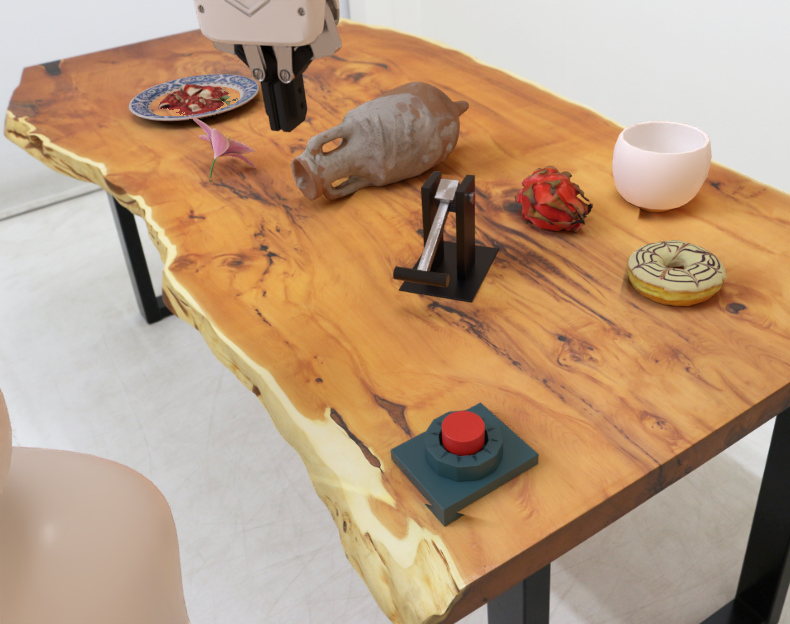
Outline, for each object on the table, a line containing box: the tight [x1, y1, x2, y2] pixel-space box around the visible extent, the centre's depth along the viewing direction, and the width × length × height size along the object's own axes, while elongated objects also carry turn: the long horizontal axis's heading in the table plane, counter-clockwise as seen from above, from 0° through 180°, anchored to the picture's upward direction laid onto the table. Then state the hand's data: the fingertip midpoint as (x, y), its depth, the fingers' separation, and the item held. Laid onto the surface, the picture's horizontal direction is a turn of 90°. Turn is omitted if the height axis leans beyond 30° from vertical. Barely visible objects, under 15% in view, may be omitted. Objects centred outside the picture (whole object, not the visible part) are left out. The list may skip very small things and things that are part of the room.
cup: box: [611, 120, 713, 213], centre depth 96 cm, size 12×12×10 cm
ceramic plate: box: [128, 73, 260, 122], centre depth 143 cm, size 26×26×3 cm
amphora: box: [290, 80, 470, 201], centre depth 107 cm, size 14×16×30 cm
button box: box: [390, 402, 540, 527], centre depth 62 cm, size 10×8×4 cm
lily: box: [188, 115, 257, 182], centre depth 115 cm, size 12×12×10 cm
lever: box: [392, 178, 461, 288], centre depth 79 cm, size 13×6×2 cm, turn 159°
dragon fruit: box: [514, 165, 595, 233], centre depth 93 cm, size 8×8×12 cm
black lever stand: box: [398, 170, 500, 304], centre depth 84 cm, size 12×9×13 cm
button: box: [442, 410, 485, 456], centre depth 60 cm, size 4×4×2 cm
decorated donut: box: [626, 239, 728, 307], centre depth 82 cm, size 10×11×4 cm
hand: (288, 125), depth 58 cm, fingers closed
